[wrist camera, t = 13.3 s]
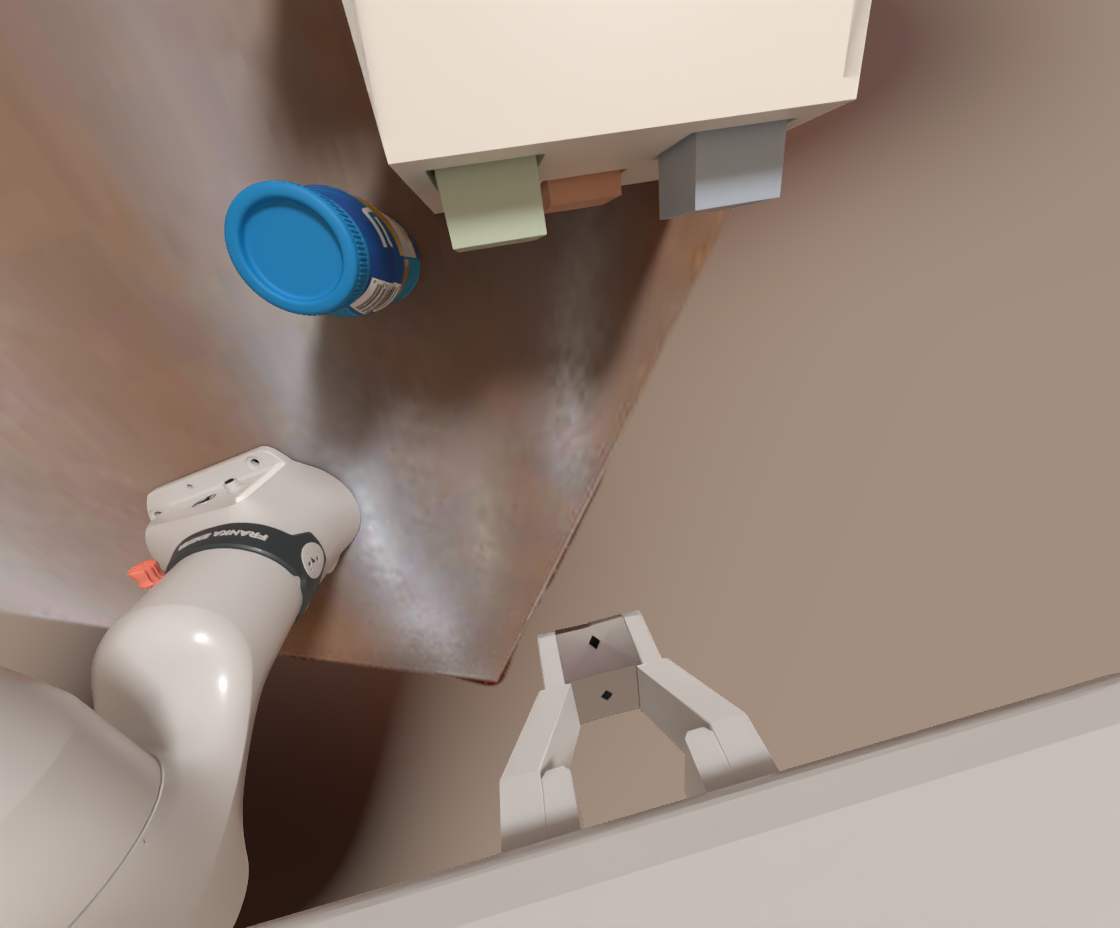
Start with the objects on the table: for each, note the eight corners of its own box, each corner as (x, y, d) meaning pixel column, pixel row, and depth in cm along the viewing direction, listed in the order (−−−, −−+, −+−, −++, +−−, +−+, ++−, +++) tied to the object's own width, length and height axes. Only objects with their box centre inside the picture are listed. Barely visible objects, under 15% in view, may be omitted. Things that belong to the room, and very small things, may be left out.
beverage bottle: (344, 305, 41) (236, 334, 23) (321, 208, 37) (170, 154, 19) (428, 303, 42) (387, 329, 24) (414, 209, 38) (354, 159, 20)
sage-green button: (458, 252, 30) (453, 249, 25) (435, 154, 27) (423, 127, 22) (536, 240, 30) (546, 234, 25) (521, 142, 28) (530, 113, 22)
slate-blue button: (659, 220, 31) (695, 210, 26) (657, 123, 28) (696, 91, 23) (730, 208, 32) (779, 197, 26) (735, 113, 29) (791, 78, 24)
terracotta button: (541, 214, 37) (551, 205, 32) (530, 134, 35) (538, 110, 29) (602, 205, 38) (621, 194, 33) (596, 125, 35) (616, 100, 30)
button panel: (434, 214, 38) (388, 164, 20) (398, 70, 34) (293, -172, 15) (687, 175, 41) (856, 98, 22) (687, 35, 36) (904, -214, 17)
